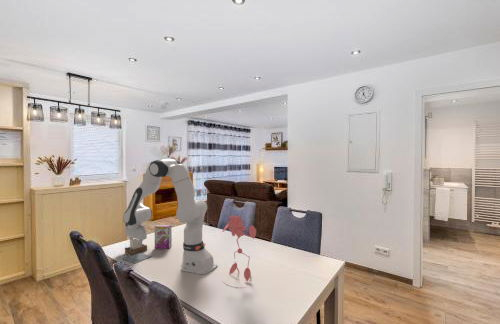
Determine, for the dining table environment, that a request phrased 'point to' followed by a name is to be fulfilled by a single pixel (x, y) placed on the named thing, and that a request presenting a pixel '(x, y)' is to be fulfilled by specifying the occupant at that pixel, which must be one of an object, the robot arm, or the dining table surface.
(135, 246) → the white upright block
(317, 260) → the dining table surface
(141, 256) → the mat
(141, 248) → the wooden card holder
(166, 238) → the candy bar box
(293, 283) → the dining table surface
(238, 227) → the red stick figure
